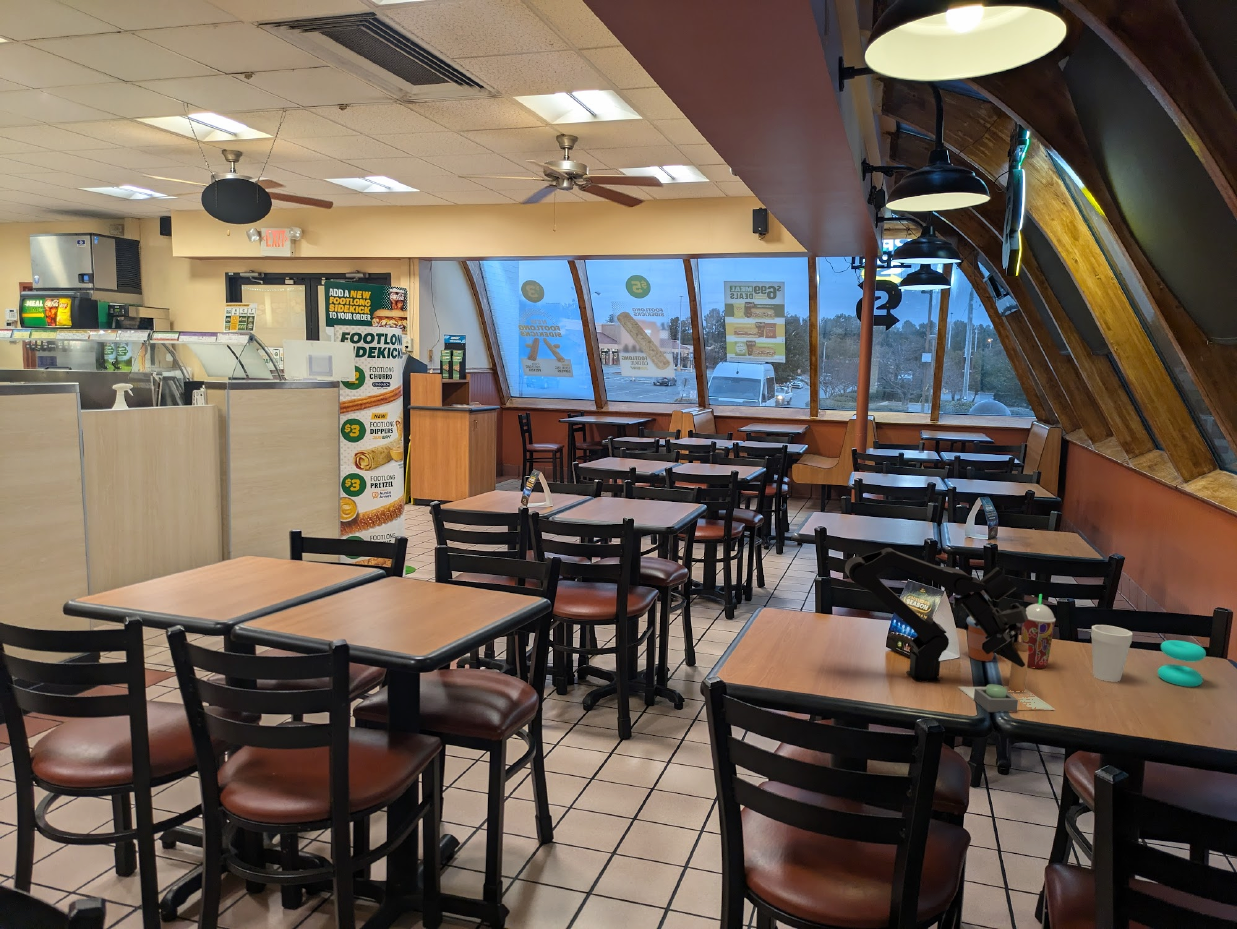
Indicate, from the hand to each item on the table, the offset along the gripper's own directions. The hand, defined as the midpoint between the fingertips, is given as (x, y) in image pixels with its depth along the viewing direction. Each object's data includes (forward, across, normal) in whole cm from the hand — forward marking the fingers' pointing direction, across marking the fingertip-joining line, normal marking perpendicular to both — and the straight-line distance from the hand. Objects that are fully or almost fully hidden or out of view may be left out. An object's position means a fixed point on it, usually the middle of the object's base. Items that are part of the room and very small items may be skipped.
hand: (1025, 664), depth 212 cm
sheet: (+4, -7, +7) cm, 11 cm away
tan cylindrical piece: (+4, 0, +6) cm, 7 cm away
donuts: (+28, +39, -17) cm, 50 cm away
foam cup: (+16, +28, -6) cm, 33 cm away
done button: (+2, -14, +7) cm, 15 cm away
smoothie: (+4, +25, +7) cm, 26 cm away
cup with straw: (-5, +22, +16) cm, 28 cm away
